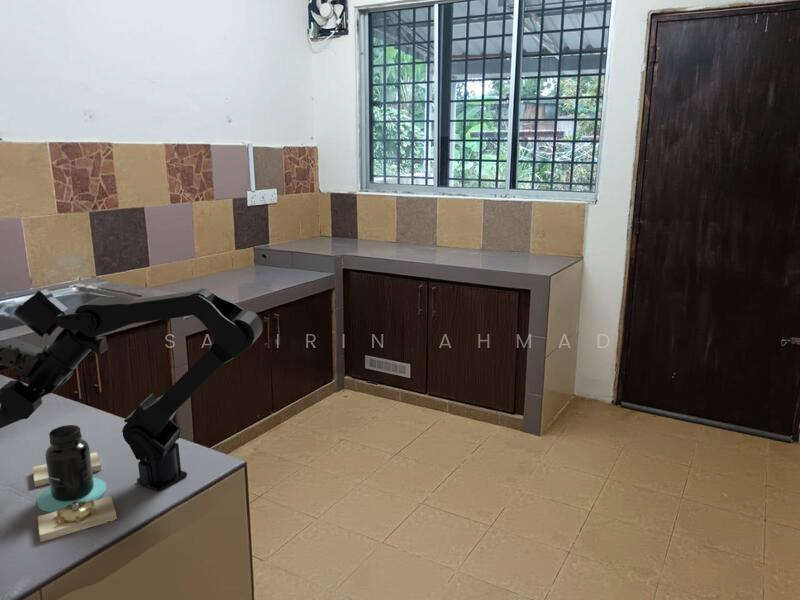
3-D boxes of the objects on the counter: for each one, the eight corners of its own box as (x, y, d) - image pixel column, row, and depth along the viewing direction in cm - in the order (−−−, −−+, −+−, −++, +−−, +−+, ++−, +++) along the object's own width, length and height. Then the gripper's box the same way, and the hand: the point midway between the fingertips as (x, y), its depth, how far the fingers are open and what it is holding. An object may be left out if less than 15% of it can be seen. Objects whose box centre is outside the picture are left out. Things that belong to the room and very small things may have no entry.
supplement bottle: (45, 504, 105) (34, 441, 103) (59, 483, 112) (50, 423, 109) (88, 500, 107) (78, 437, 104) (99, 480, 113) (91, 420, 110)
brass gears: (49, 463, 117) (47, 448, 117) (81, 455, 120) (79, 441, 120) (59, 529, 97) (56, 512, 96) (97, 518, 100) (95, 502, 99)
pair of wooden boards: (33, 472, 116) (32, 467, 116) (97, 457, 122) (96, 451, 122) (40, 542, 96) (39, 535, 95) (116, 519, 101) (115, 513, 101)
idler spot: (35, 489, 111) (35, 488, 110) (102, 472, 116) (102, 471, 116) (38, 519, 102) (38, 518, 101) (110, 499, 107) (110, 498, 107)
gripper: (46, 311, 114) (-8, 370, 116) (-3, 341, 97) (-66, 410, 98) (96, 348, 118) (43, 405, 119) (58, 385, 100) (-4, 451, 101)
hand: (6, 416), depth 109 cm, fingers open, 9 cm apart
